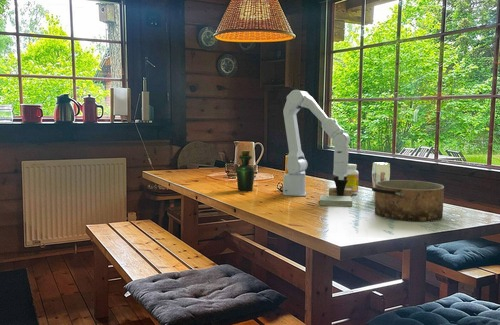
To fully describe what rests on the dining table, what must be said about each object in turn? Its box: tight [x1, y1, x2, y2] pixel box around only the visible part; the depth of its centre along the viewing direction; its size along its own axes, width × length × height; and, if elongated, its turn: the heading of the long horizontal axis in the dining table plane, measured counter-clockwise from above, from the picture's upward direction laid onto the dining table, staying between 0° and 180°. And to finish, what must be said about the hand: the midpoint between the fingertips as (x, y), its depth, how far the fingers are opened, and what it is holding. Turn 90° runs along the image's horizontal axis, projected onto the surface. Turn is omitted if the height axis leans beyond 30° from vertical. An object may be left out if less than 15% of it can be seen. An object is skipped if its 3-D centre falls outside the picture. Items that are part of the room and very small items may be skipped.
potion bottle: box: [235, 149, 255, 192], centre depth 211 cm, size 8×8×18 cm
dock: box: [319, 194, 353, 207], centre depth 184 cm, size 12×10×2 cm
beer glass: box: [371, 161, 391, 202], centre depth 192 cm, size 7×7×15 cm
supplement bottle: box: [345, 163, 360, 196], centre depth 206 cm, size 7×7×13 cm
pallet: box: [328, 187, 353, 198], centre depth 195 cm, size 9×5×4 cm, turn 82°
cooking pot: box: [371, 179, 445, 223], centre depth 164 cm, size 30×22×11 cm
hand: (339, 195), depth 195 cm, fingers closed on pallet, 5 cm apart
